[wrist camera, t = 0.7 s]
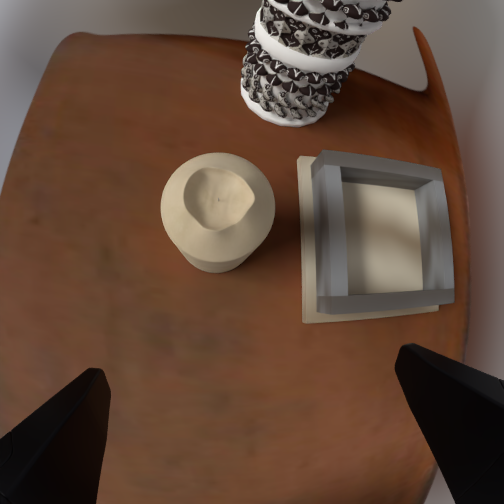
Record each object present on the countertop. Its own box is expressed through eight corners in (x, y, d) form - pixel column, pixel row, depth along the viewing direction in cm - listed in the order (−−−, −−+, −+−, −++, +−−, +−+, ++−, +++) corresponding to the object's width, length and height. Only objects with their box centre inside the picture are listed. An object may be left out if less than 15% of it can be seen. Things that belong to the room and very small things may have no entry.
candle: (258, 209, 23) (290, 153, 14) (245, 280, 23) (270, 270, 13) (188, 195, 23) (174, 130, 13) (172, 265, 22) (141, 244, 12)
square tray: (431, 310, 24) (460, 311, 20) (302, 322, 23) (320, 327, 19) (420, 176, 26) (445, 162, 22) (296, 160, 24) (311, 138, 20)
